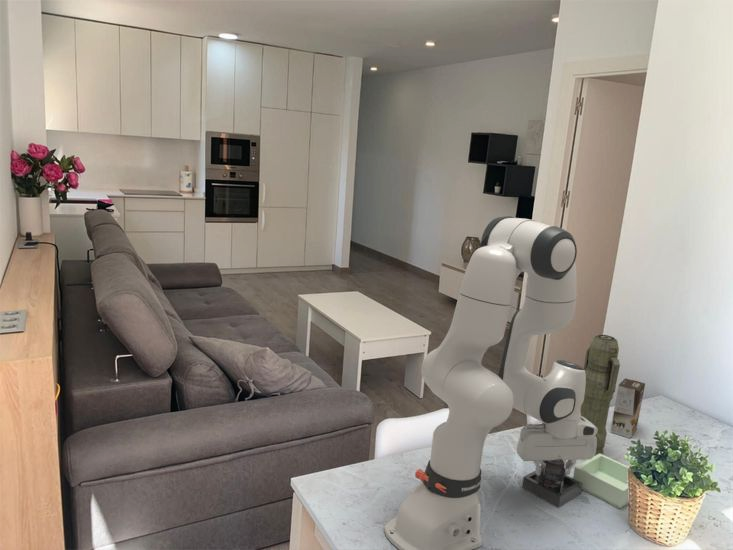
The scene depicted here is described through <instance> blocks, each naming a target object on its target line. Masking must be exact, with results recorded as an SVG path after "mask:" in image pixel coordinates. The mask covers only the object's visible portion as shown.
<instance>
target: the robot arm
mask: <svg viewBox="0 0 733 550" xmlns="http://www.w3.org/2000/svg"><path fill="white" fill-rule="evenodd" d="M577 249H578V248H577V244H576V241H575V239H574V236H573V235H572V234H571V233H570V232H569V231H567V230H565V229H563V228H562V227H560V226H556V225H554V226H553V225H549V224H546V223H543V222H539V221H537V220H535V219H529V218H522V217H521V218H519V217H514V216H499V217H495V218H494V219H492V220H491V221H489V223H488V224H487V226H486V227H485V229H484V230H483V233H482V234H481V240H480V247H479V248H477V249H476V250H475V251H474V252H473V254H472V255H471V256H470V260H469V262H468V264H467V266H466V269H465V271H464V275H463V277H462V281H461V285H460V288H459V292H458V296H457V301H456V305H455V309H454V313H453V317H452V320H451V324H450V327H449V329H448V332H447V333H446V336H445V337H444V338H443V340H442V341H441V344H440V345H439V346H438V347H436V348H434V349H433V350H431V351H430V352H429V353H428V354H427V355H426V356H425V357H424V359H423V362H422V364H421V368H420V369H421V370H420V373H421V374H420V375H421V376H422V379H423V381H424V382H425V384H426V385H427V387H428V388H429V389H430V391H431V392H432V393H433V394H434V395H435V396H436V397H438V398H439V399H440V400H442V402H445V404H447V406H448V416H447V418H446V421H444V422H443V423H440V424H439V425H438V426H436V427H435V429H434V430H433V433H432V442H431V450H430V459H429V461H428V462H427V465H426V466H425V470H424V471H423V469H420V468H417V470H416V471H415V474H414V477H415V478H416V479H419V480H420V482H419V483H418V484H417V485H416V486H415V488H414V489H413V490H412V491H411V492H410V493H409V495H407V497H406V498H405V499H404V500H403V501H402V503H401V504H399V508H398V510H397V513H396V516H395V517H394V518H392V519H391V520H389V522H387V523H385V525H384V528H383V531H384V534H385V536H386V538H387V539H388V540H389V541H390V542H391V544H392V545H393V546H394V547H395V548H397V550H474V549H478V548H480V547H482V546H483V537H482V535H481V511H482V510H481V503H480V501H481V500H480V497H479V490H480V489H481V484H482V478H483V477H482V468H481V465H482V460H483V459H482V457H483V452H484V446H485V442H486V439H487V437H488V434H489V433H490V431H491V430H492V429H493V428H496V427H498V426H501V425H502V424H503V423H505V421H506V420H508V418H509V417H510V415H511V413H512V411H513V409H515V410H517V411H519V412H521V413H523V414H525V415H527V416H528V417H532V418H533V419H536V420H537V421H540V422H541V423H527V424H526V425H525V426H523V427H522V428H521V429H520V434H519V438H518V442H517V446H516V454H517V455H518V457H519V458H520V459H521V460H522V461H524V462H533V464H534V466H535V469H534V471H535V473H536V474H537V475H538V476H539V475H544V469H543V468H542V466H541V464H542V461H547V460H556V459H562V460H566V468H565V474H564V475H567V476H569V475H570V474H571V470H572V469H573V467H575V466H576V464H577V461H578V460H584V461H585V460H589V459H592V458H593V457H594V456H595V453H596V447H597V438H596V436H595V435H596V434H597V431H598V429H597V428H596V427H595V426H594V425H593V424H592V423H591V422H590V421H588V420H587V419H586V418H584V417H582V416H581V411H580V409H581V405H582V403H583V401H584V395H585V387H586V373H585V370H584V367H582V366H581V365H579V364H576V363H573V362H571V361H566V360H559V359H558V360H555V361H554V362H553V364H552V367H551V370H550V372H549V374H547V375H546V376H545V377H541V376H539V375H536V374H534V373H532V372H530V371H528V369H527V368H526V365H525V364H526V358H527V354H528V350H529V346H530V341H531V339H532V337H533V336H541V335H542V336H543V335H549V334H555V333H558V332H560V331H562V330H564V329H566V328H567V327H568V326H569V324H571V322H572V321H573V319H574V317H575V313H576V309H577V308H576V306H577V294H578V274H577V266H576V265H577V264H576V259H577V254H578V252H577V251H578V250H577ZM522 272H523V273H526V274H527V278H526V284H525V285H526V286H525V296H524V302H523V304H522V307H521V308H520V309H518V310H516V311H515V313H514V314H513V316H512V317H511V321H510V323H509V328H508V330H507V336H506V340H505V345H504V350H503V355H502V359H501V364H500V368H499V370H498V372H497V374H496V373H495V372H494V371H491V370H490V369H488V368H486V367H485V366H483V365H482V360H483V357H484V355H485V354H486V352H487V351H488V349H489V348H490V347H493V346H496V345H497V344H499V343H500V342H501V341H502V340H503V339H504V335H505V333H506V328H507V326H508V325H507V324H508V322H509V321H508V320H509V316H510V313H511V308H512V304H513V299H514V295H515V289H516V288H515V286H516V281H517V278H518V277H519V275H520V274H521V273H522ZM558 456H561V457H558Z"/></svg>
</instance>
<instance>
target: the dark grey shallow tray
mask: <svg viewBox="0 0 733 550" xmlns="http://www.w3.org/2000/svg"><path fill="white" fill-rule="evenodd" d="M538 481H539V476H538V475H537V474H536V473H535V470H533V471H532V472H529V473H528V474H526V475H524V476H523V478H522V485H521V488H523V489H524V490H527V491H528V492H530V493H532V494H533V495H535V496H537V497H539V498H540V499H542V500H543V501H545V502H548V503H549V504H551V505H553V506H555V507H557V508H560V507H563V506H564V505H565V504H567V503H569V502H570V501H572V500H573V499H575V498H577V497H578V496H580V495H581V494H582V491H583V490H582V484H583V483H581V482H579V481H577V480H575V479H573V477H571V476H569V475H564V481H563V487H562V488H564V490H562V492H560V493H557V492H555V491H554V490H552V489H550V488H548V487H546V486H544V485H543V484H541V483H539V482H538Z"/></svg>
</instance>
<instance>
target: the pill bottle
mask: <svg viewBox="0 0 733 550" xmlns="http://www.w3.org/2000/svg"><path fill="white" fill-rule="evenodd" d="M558 457H561V456H558ZM566 463H567V460H562V459H556V460H547V461H542V464H540V466H542V468H543V469H544V475H539V481H538V482H539V483H541V484H543V485H544V486H546V487H548V488H550V489H552V490H554V491H555V492H557V493H560V492H562V491H563V488H564V487H563V481H564V474H565V468H566Z"/></svg>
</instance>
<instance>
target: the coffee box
mask: <svg viewBox="0 0 733 550" xmlns="http://www.w3.org/2000/svg"><path fill="white" fill-rule="evenodd" d="M645 388H646V383H645V382H641V381H638V380H633V379H629V378H624V379H623V380H622V381H621V382H620V383H619V384H618V387H617V393H616V399H615V404H614V409H613V415H612V421H611V426H610V430H609V432H610V433H612V434H616V435H618V436H621V437H625V438H626V439H627V438H628V439H631V438H632V437H633V435H634V433H635V432H636V431H637V428H638V425H639V418H640V412H641V406H642V403H643V397H644V392H645Z"/></svg>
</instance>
